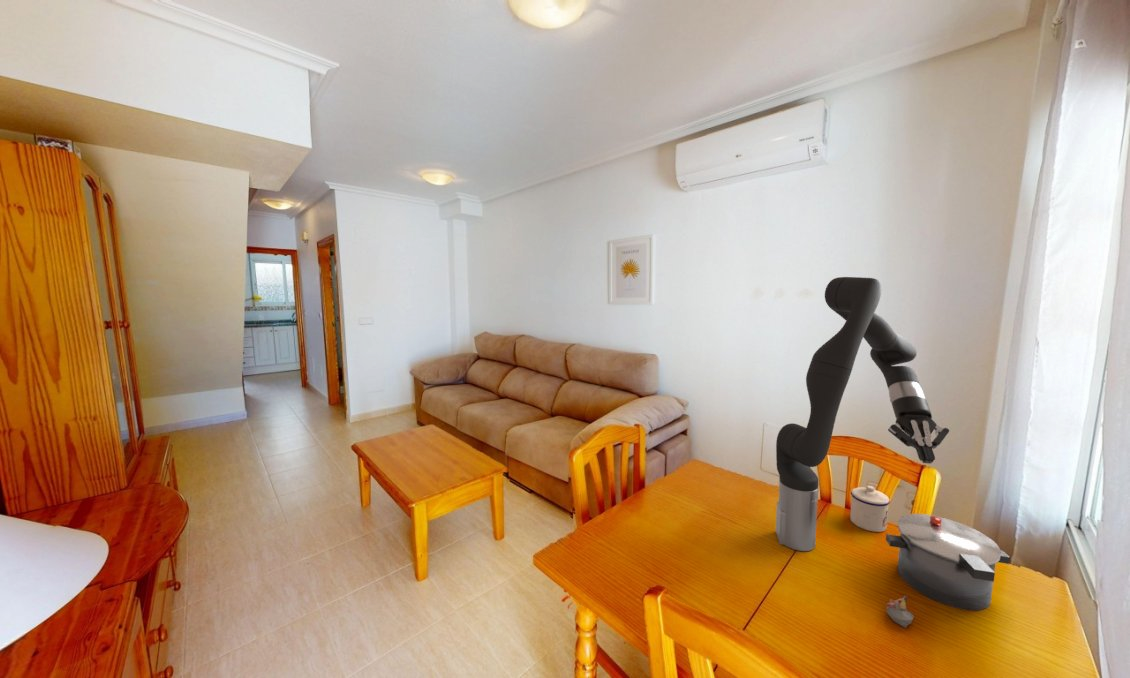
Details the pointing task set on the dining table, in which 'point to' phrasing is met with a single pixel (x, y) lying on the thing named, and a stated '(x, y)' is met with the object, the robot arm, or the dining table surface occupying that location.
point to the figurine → (900, 612)
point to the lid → (952, 542)
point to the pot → (942, 576)
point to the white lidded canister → (869, 509)
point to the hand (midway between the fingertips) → (928, 462)
